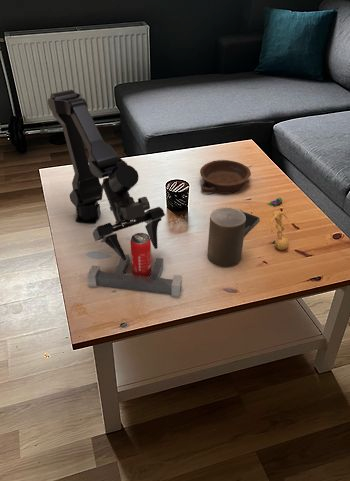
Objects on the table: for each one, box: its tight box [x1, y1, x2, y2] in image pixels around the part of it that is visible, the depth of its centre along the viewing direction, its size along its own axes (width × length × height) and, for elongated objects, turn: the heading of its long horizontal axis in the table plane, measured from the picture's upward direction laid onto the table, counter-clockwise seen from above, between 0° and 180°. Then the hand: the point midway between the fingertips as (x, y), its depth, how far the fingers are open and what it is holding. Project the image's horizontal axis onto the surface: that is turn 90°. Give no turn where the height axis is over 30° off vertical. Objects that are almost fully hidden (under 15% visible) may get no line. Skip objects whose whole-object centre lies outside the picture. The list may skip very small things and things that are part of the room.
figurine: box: [270, 210, 290, 251], centre depth 137 cm, size 8×6×12 cm
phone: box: [240, 210, 260, 237], centre depth 148 cm, size 8×1×15 cm
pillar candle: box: [206, 206, 246, 268], centre depth 132 cm, size 10×10×15 cm
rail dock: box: [87, 253, 183, 298], centre depth 128 cm, size 24×11×4 cm, turn 80°
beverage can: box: [130, 232, 152, 277], centre depth 127 cm, size 5×5×12 cm
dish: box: [199, 159, 252, 194], centre depth 168 cm, size 18×22×5 cm
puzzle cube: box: [267, 197, 283, 208], centre depth 158 cm, size 4×3×2 cm, turn 118°
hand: (140, 254), depth 124 cm, fingers open, 9 cm apart
